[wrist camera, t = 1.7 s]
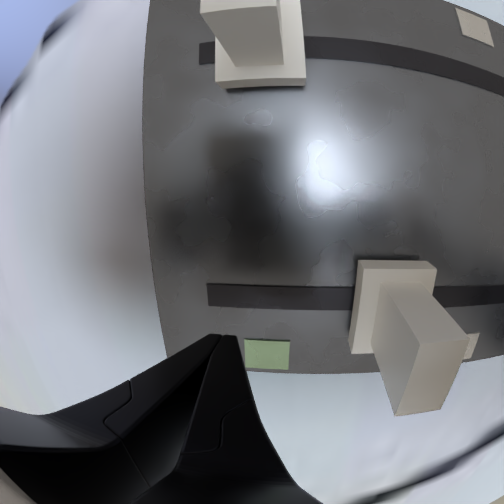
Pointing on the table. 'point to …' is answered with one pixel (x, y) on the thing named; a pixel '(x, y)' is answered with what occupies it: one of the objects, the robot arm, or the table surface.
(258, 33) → the block
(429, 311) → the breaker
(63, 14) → the table surface
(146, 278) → the table surface
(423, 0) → the board
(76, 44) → the table surface
